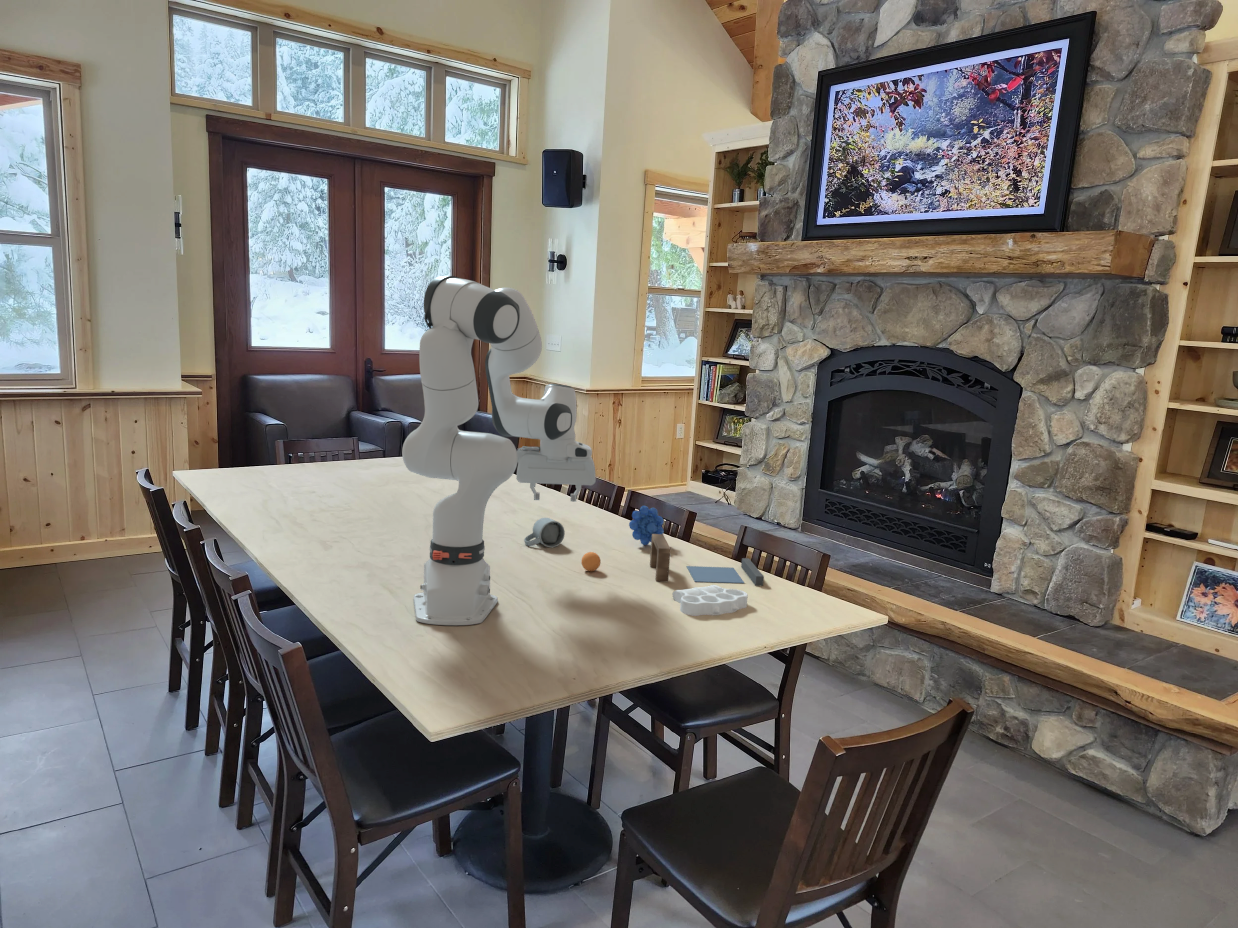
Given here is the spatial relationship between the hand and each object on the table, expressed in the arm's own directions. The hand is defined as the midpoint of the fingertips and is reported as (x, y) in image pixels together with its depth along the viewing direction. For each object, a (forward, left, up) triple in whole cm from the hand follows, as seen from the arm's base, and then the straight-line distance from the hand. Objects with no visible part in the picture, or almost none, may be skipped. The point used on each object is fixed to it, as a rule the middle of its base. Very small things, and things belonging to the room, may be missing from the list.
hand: (555, 500), depth 215 cm
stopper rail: (-1, -53, -18) cm, 56 cm away
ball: (-1, -10, -16) cm, 19 cm away
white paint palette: (-25, -37, -19) cm, 49 cm away
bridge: (-1, -28, -18) cm, 34 cm away
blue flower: (+25, -28, -19) cm, 42 cm away
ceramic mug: (+23, +2, -19) cm, 30 cm away
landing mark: (-1, -43, -18) cm, 47 cm away
